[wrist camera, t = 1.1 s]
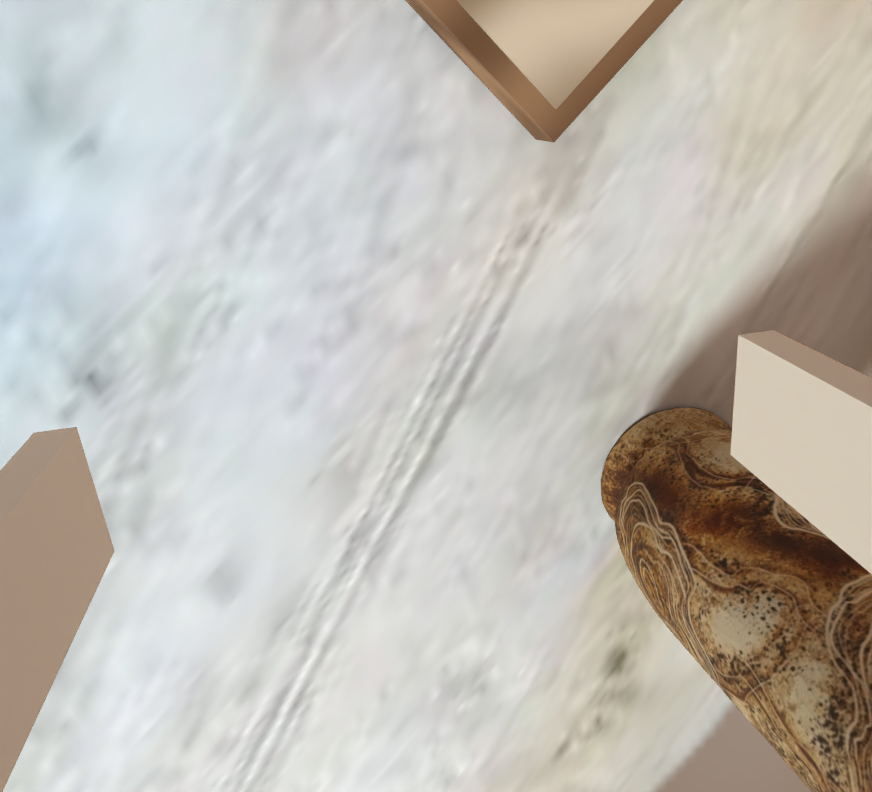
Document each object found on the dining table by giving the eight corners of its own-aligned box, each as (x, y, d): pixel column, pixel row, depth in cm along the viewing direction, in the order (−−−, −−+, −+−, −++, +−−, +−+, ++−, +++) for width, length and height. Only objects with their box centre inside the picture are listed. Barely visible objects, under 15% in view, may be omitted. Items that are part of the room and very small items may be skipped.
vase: (782, 455, 45) (1513, 1005, 17) (667, 580, 47) (1153, 1243, 20) (666, 364, 42) (1347, 871, 14) (547, 503, 44) (934, 1178, 16)
